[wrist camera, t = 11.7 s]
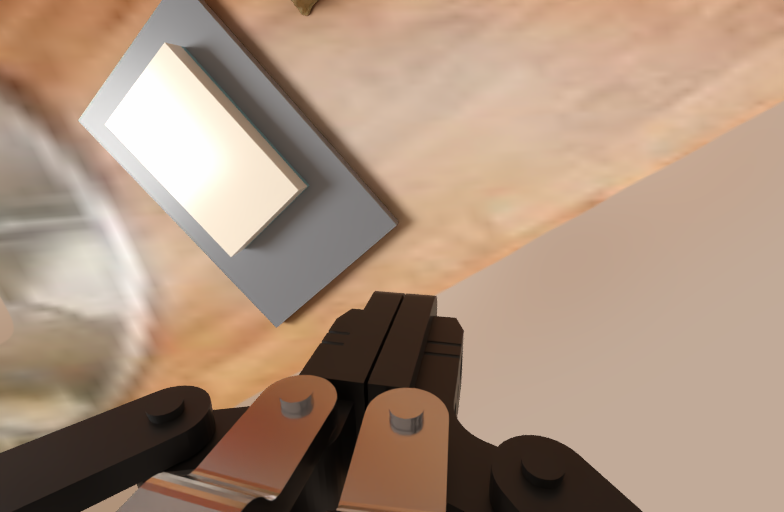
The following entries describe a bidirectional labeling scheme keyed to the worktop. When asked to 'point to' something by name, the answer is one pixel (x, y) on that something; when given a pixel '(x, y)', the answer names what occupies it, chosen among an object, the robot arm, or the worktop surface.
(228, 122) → the tile
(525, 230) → the worktop surface
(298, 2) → the rock
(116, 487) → the robot arm
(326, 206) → the board
